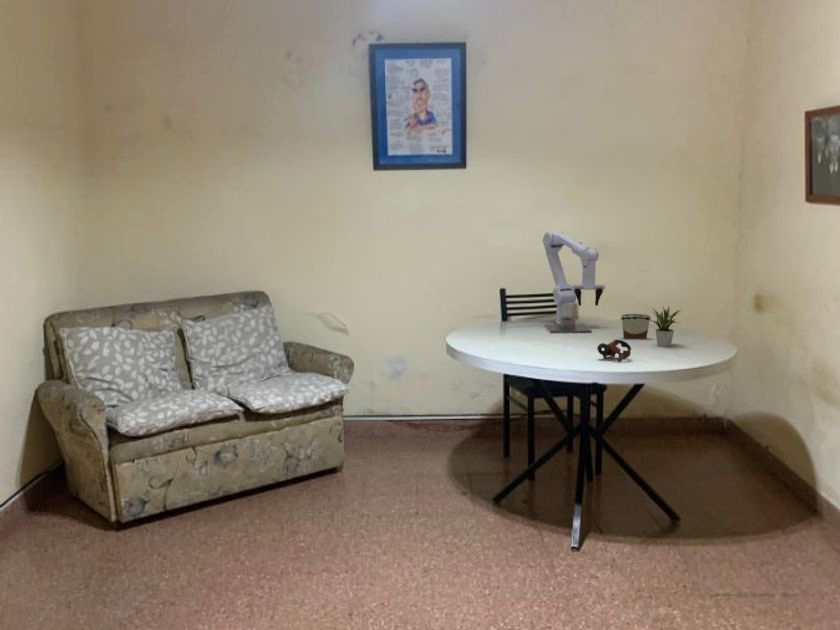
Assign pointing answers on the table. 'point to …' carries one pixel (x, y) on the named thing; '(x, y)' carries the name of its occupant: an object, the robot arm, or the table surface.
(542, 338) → the table surface
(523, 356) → the table surface
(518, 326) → the table surface
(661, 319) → the house plant
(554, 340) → the table surface
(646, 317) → the food container
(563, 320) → the stand base
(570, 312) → the lift column
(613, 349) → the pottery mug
